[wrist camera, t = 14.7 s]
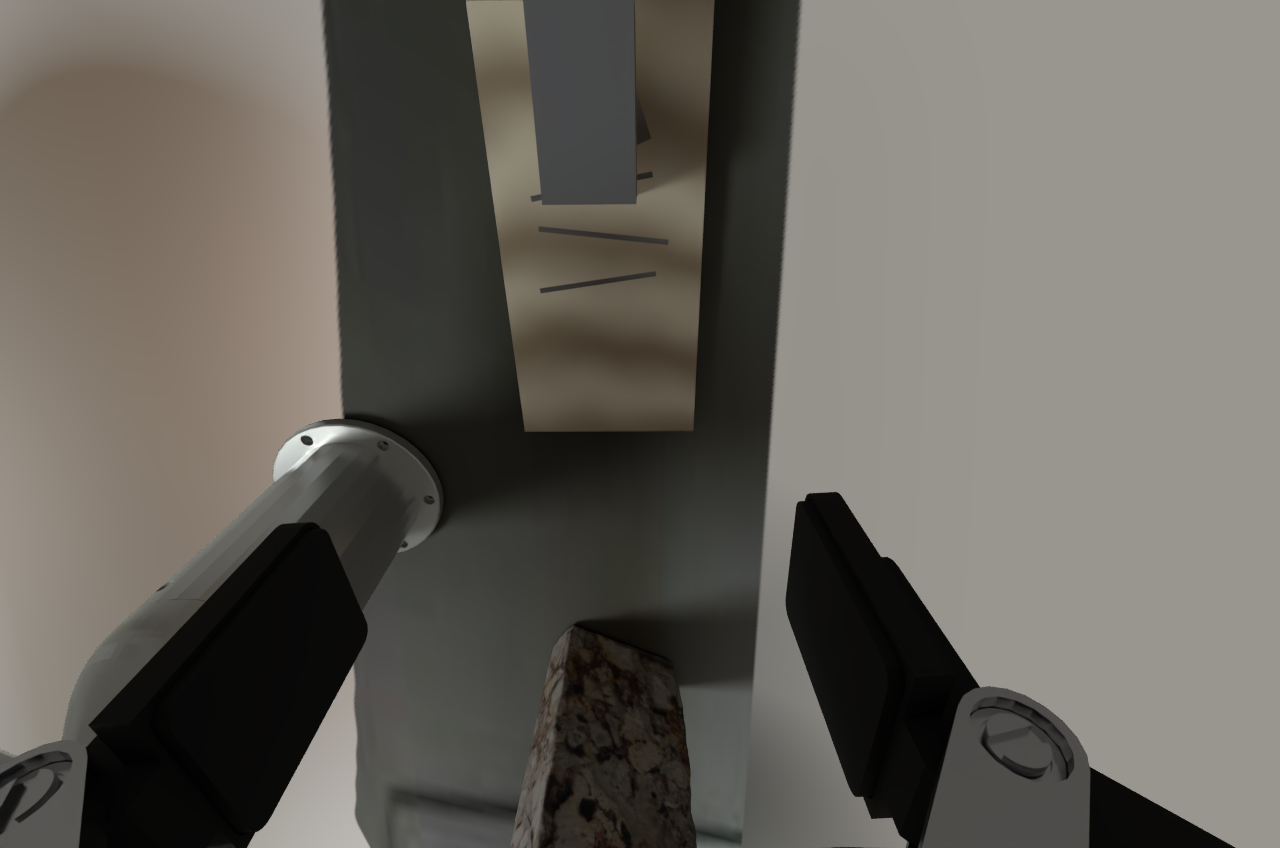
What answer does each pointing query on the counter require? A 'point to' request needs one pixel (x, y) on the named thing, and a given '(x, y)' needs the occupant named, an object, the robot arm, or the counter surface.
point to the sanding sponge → (584, 99)
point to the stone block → (606, 752)
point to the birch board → (603, 233)
